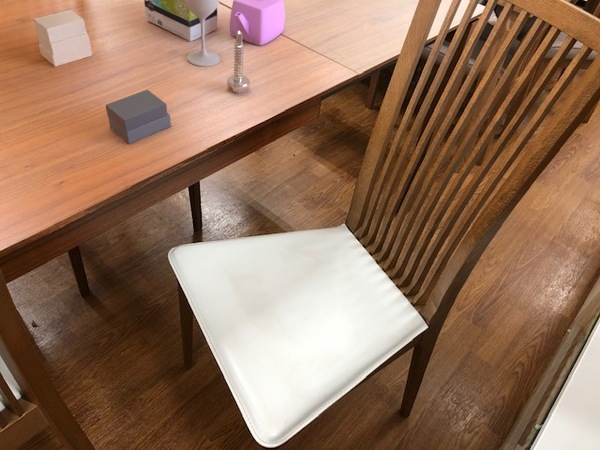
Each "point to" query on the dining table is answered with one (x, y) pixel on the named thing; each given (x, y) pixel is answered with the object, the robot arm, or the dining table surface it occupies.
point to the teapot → (257, 20)
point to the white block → (60, 26)
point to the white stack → (65, 49)
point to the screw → (238, 67)
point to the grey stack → (138, 116)
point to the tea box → (178, 18)
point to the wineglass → (202, 32)
